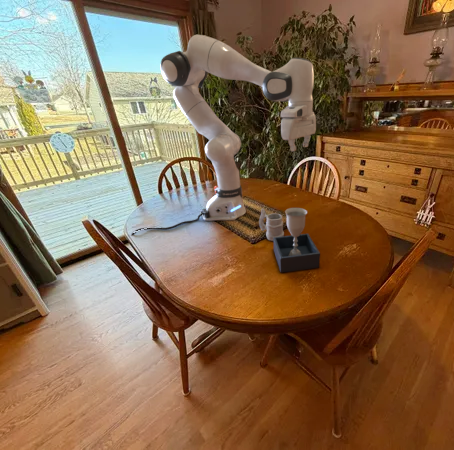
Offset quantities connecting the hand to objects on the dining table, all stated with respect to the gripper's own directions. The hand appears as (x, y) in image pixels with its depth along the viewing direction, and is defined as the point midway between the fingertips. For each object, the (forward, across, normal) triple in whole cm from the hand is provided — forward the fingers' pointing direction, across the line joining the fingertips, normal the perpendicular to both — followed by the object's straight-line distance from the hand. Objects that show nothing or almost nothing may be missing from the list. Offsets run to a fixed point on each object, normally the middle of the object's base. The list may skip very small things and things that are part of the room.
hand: (299, 148), depth 95 cm
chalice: (+33, +24, +13) cm, 43 cm away
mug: (+34, +16, -4) cm, 38 cm away
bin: (+34, +24, +13) cm, 44 cm away
